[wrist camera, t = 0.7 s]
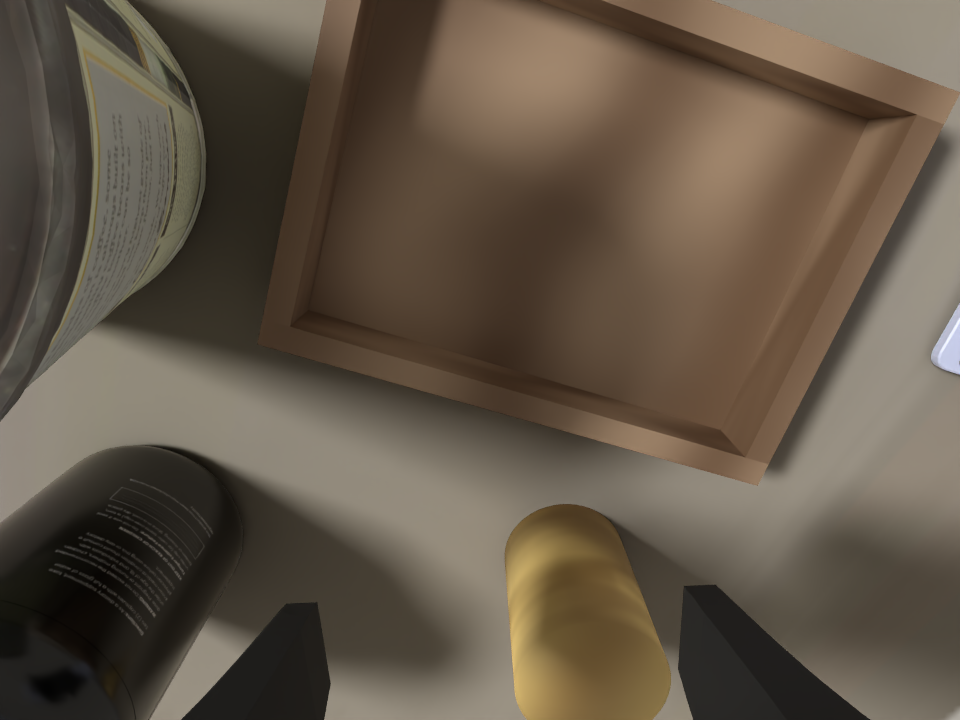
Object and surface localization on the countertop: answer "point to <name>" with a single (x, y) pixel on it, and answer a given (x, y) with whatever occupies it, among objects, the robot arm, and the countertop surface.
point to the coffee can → (86, 173)
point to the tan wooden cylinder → (580, 622)
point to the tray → (592, 212)
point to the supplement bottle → (110, 584)
